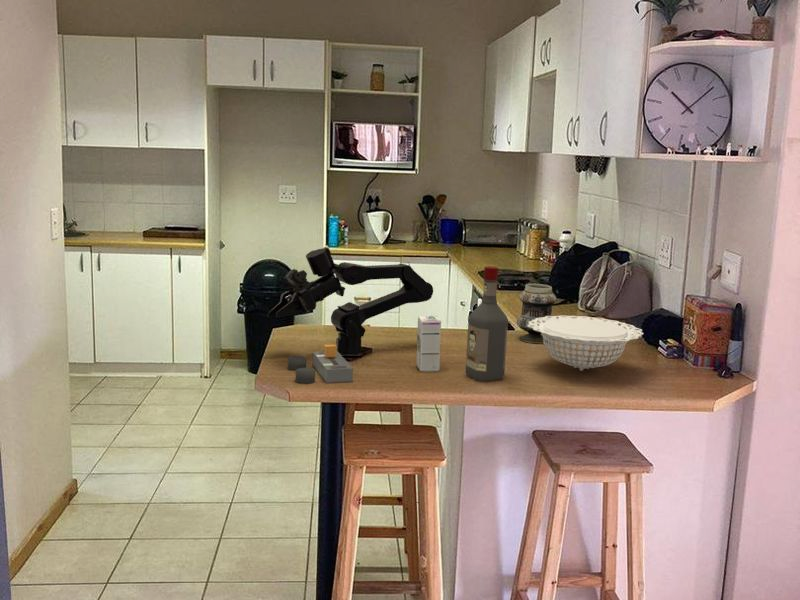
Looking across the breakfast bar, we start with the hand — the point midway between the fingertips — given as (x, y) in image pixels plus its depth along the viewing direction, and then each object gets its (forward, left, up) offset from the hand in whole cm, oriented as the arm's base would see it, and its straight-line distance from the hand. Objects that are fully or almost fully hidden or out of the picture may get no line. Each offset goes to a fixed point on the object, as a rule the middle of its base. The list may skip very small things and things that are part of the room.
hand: (272, 315), depth 227 cm
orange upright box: (-14, +10, -10) cm, 20 cm away
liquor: (-54, +23, -14) cm, 61 cm away
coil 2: (-6, +19, -14) cm, 24 cm away
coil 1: (-6, +7, -14) cm, 16 cm away
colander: (-84, +22, -14) cm, 88 cm away
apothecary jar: (-87, -14, -14) cm, 90 cm away
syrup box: (-41, +13, -14) cm, 45 cm away
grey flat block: (-14, +12, -13) cm, 23 cm away
